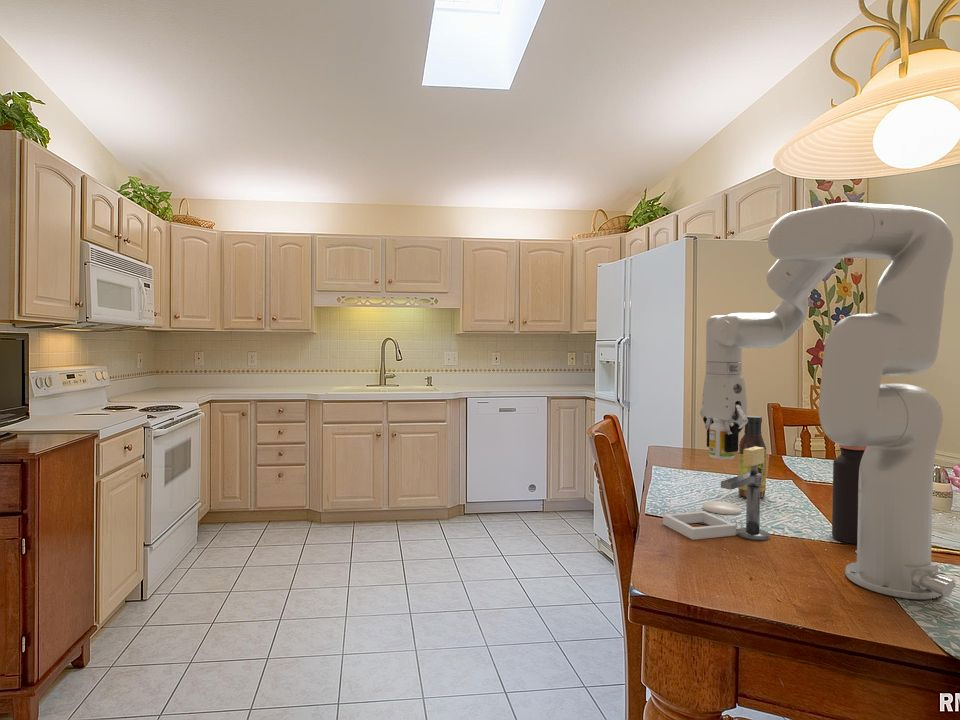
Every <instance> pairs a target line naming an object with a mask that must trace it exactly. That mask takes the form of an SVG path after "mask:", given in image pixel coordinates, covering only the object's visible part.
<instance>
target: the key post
mask: <svg viewBox="0 0 960 720" xmlns="http://www.w3.org/2000/svg"><path fill="white" fill-rule="evenodd" d="M745 502H746V504H745V506H746V510H745V511H746V514H745V517H746V518H745V524H746V525H745V527H740V528H736V535H735V536H738V537H739V538H742V539H744V540H750V541H757V542H759V541H760V542H762V541H763V542H764V541H768V540H770V537H771V535H770V533H769V532H768V531H765V530H762V529H760V518H761V498H760V486H753V485H748V484H747V497H746V501H745Z"/></svg>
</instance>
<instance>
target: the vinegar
mask: <svg viewBox="0 0 960 720" xmlns="http://www.w3.org/2000/svg"><path fill="white" fill-rule="evenodd" d="M838 446H839V450H840V455H838V456H837V457H836V458H835V459H834V460H833V462H832V464H833V466H832V510H831V511H832V512H831V513H832V517H831V535H832V538H834V539H835V540H837V541H839V542H842V543H846V544H850V545H855V546H857V533H858V483H859V467H860V463H861V459H862V456H863V454H864V451H865V449H866V447H867V446H865V447H849V446H843V445H840V444H838Z"/></svg>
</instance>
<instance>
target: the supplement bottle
mask: <svg viewBox="0 0 960 720" xmlns="http://www.w3.org/2000/svg"><path fill="white" fill-rule="evenodd" d="M731 420H733V419H731ZM713 421H714V423H712V424H711V425H710V433H709V447H708V448H709V449H708V455H709V457H711V458H712V459H719V460H733V459H734V458H735V455H736V452H725V450H724V446H725V434H727V431H726V426H725V421H723V420H719V419H717V418H716V417H714V418H713ZM733 425H734V424H733V423H731V427H732V426H733Z"/></svg>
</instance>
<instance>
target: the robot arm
mask: <svg viewBox="0 0 960 720" xmlns="http://www.w3.org/2000/svg"><path fill="white" fill-rule="evenodd" d="M766 243H767V249H768V252H769V253H770V255H771V256H772V257H773V258H775V259H777V260H776V261H775V262H774V263H773V264H772V266H771V268H770V269H768V271H767V273H766V277H765V278H766V283H767V285H768V287H769V289H770V290H771V291H772V292H773V294H775V295H776V296H778V298H779V299H781V300H782V301H781V302H780V303H779V304H778V305H777V306H776V307H775V309H774V310H772V312H733V313H728V314H726V315H724V314H723V315H720V314H719V315H712V316H710V317H708V318H707V320H706V323H705V324H706V326H705V330H706V331H705V332H706V333H705V376H704V381H703V389H702V401H701V404H702V405H701V409H700V411H699V415H700V417H701V418H702V421H703V423H704V428H705V430H706V447H707V448H709V433H710V425H711V424H712V423H714V421H713V418H714V417H716V418H717V419H719V420H723V421H725V426H726V431H727V434H725V446H724V450H725V452H735V453H737V452H738V451H739V437H740V436H739V435H741V434H742V433H741V431H742V430H744V428H745V425H746V424H747V423H748V419H747V416H748V403H747V402H748V401H747V390H746V389H747V388H746V384H745V378H744V376H742V370H743V369H742V365H743V363H742V362H743V361H742V357H743V354H742V353H743V349H753V348H754V349H757V348H758V349H771V348H777V347H780V346H781V345H784V344H785V343H786V342H787V341H788V340H789V339H790V338H791V337H793V336H794V334H796V333H797V331H798V330H799V329H800V328H801V327H802V326H803V324H804V323H805V321H806V319H807V315H808V312H809V311H808V310H809V298H808V297H809V295H810V294H811V292H813V290H815V288H817V286H818V285H819V284H820V283H821V281H822V280H824V278H825V277H826V276H827V275H828V274H830V272H831V271H832V270H833V269H834V268H835V267H836V266H837V265H838V264H839V262H840V261H841V260H843V259H845V258H846V259H847V258H848V259H865V260H866V259H873V260H874V259H877V260H887V261H889V262H891V263H890V264H889V265H888V266H887V268H885V270H884V271H883V273H882V275H881V277H880V278H879V280H878V283H877V286H876V289H875V300H874V301H875V302H874V308H873V313H857V314H852V315H849V316H846V317H844V318H842V319H840V320H839V321H838V322H837V323H835V325H834V326H833V327H832V328H831V330H830V331H829V333H828V335H827V337H826V340H825V342H824V343H825V344H824V347H823V355H822V366H821V375H820V376H821V377H820V379H821V380H820V387H819V400H818V418H819V423H820V425H821V429H822V431H823V433H824V434H825V435H826V437H827V438H829V439H830V440H831V441H832V442H833V443H834V444H837V445H839V444H840V445H843V446H849V447H865V446H867V447H866V449H865V451H864V454H863V456H862V459H861V463H860V467H859V483H858V533H857V545H856V561H854V562H851V563H848V564H847V565H846V566H845V576H846V578H847V579H848V580H850V582H853V583H854V584H856V585H857V586H859V587H862V588H864V589H866V590H869V591H872V592H876V593H878V594H883V595H886V596H890V597H895V598H901V599H909V600H933V599H936V597H937V598H939V596H940V597H941V596H943V597H950V596H951V595H952V593H953V590H954V589H955V587H956V582H955V581H954V579H952V578H951V579H950V578H948V577H945V576H941V575H940V574H939V564H938V563H935V562H932V540H933V539H932V538H933V537H932V534H933V533H932V532H933V529H932V528H933V526H932V525H933V491H934V472H935V471H934V469H935V468H934V467H935V458H936V452H937V449H938V444H939V440H940V437H941V433H942V429H943V421H944V420H943V419H944V418H943V417H944V415H943V410H942V407H941V404H940V403H939V401H938V399H937V398H936V397H935V396H934V395H933V394H932V393H931V392H930V391H928V390H927V389H925V388H922V387H920V386H918V385H914V384H909V383H881V381H882V377H895V376H896V377H901V376H912V375H918V374H922V373H924V372H927V371H929V370H930V369H931V368H932V367H933V365H934V364H935V362H936V359H937V357H938V353H939V347H940V339H941V338H940V337H941V330H942V322H943V314H944V313H943V312H944V305H945V291H946V285H947V284H946V283H947V278H948V274H949V269H950V266H951V262H952V257H953V251H954V238H953V235H952V231H951V228H950V227H949V225H948V224H947V222H946V221H945V220H944V219H943V218H942V217H941V216H939V215H938V214H936V213H934V212H932V211H930V210H926V209H924V208H919V207H914V206H910V205H909V206H907V205H900V204H883V203H867V202H849V201H847V202H838V203H830V204H826V205H821V206H816V207H810V208H806V209H800V210H795V211H791V212H788V213H786V214H784V215H783V216H781V217H779V218H778V220H776V221H775V223H773V225H772V226H771V228H770V230H769V231H768V235H767V241H766ZM731 419H732V420H731ZM731 424H732V425H733V426H732V427H731ZM738 453H739V452H738ZM932 598H933V599H932Z"/></svg>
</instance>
